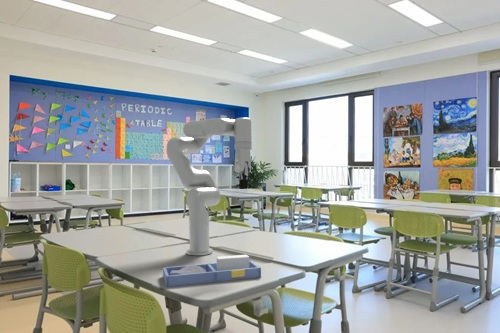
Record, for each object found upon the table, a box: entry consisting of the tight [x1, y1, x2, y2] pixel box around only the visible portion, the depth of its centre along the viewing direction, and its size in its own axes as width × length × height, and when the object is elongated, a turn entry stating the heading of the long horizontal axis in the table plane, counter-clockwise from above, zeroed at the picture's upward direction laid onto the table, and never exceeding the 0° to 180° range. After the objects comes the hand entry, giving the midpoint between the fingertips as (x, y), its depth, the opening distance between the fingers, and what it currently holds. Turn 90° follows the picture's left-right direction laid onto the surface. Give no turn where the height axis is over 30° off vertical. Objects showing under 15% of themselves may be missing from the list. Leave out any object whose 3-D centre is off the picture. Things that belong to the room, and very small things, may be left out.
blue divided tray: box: [162, 259, 262, 287], centre depth 146 cm, size 13×35×4 cm, turn 108°
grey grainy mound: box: [170, 264, 206, 275], centre depth 143 cm, size 12×5×10 cm
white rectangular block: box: [216, 254, 250, 271], centre depth 149 cm, size 4×12×7 cm, turn 106°
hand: (243, 188), depth 168 cm, fingers closed
